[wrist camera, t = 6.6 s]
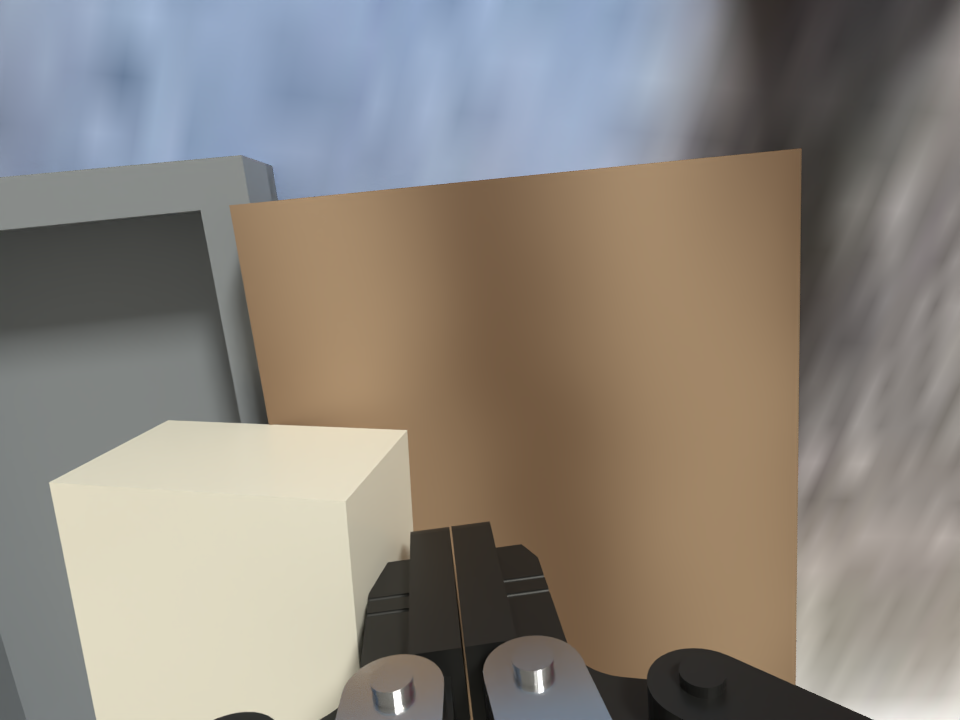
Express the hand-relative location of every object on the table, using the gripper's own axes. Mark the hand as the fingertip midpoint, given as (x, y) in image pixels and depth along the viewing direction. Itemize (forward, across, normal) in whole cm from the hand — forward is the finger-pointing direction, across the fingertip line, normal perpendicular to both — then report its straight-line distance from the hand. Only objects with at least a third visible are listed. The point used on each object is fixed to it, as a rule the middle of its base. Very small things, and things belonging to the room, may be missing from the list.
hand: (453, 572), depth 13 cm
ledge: (+8, -2, 0) cm, 8 cm away
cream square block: (+2, +3, 0) cm, 3 cm away
